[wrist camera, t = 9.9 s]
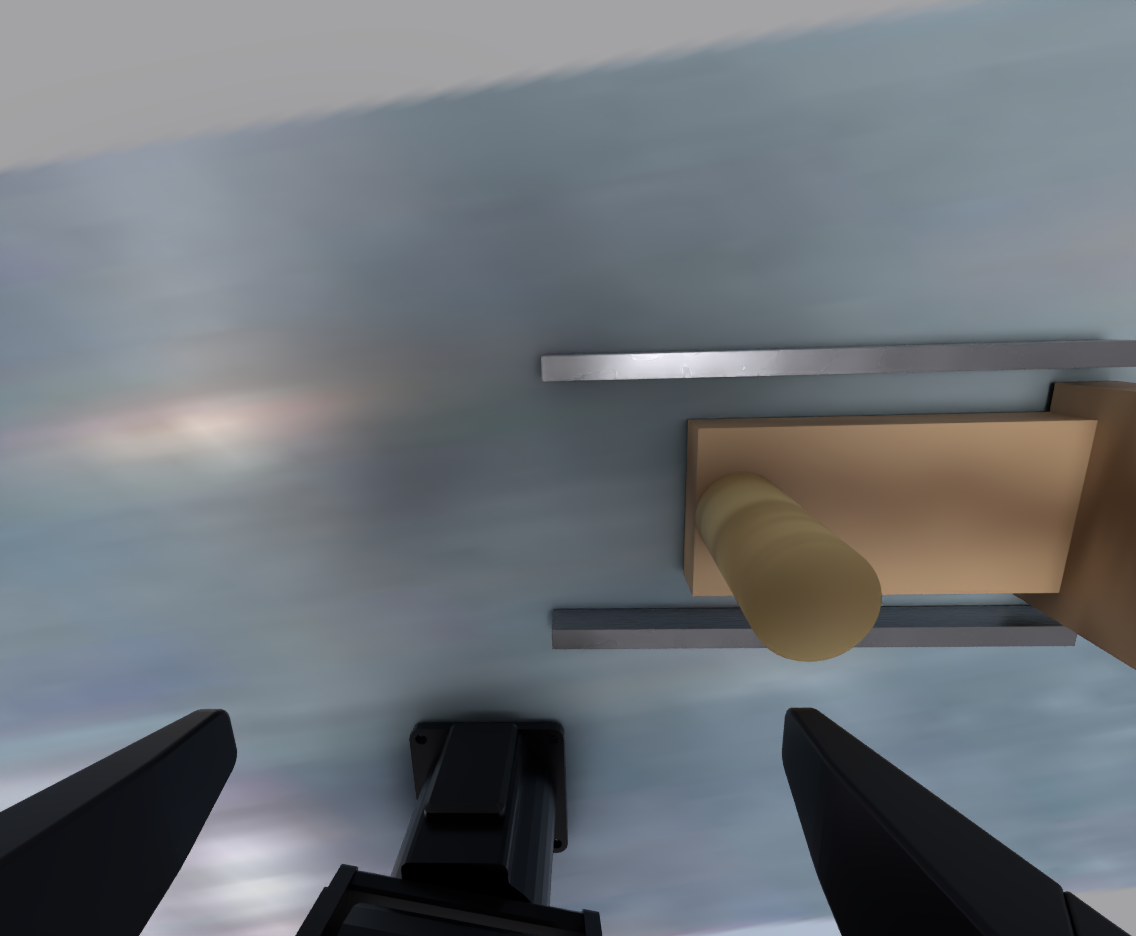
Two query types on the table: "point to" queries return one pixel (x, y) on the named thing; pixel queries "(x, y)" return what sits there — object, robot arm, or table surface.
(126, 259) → the table surface
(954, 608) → the clamp rails
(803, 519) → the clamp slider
